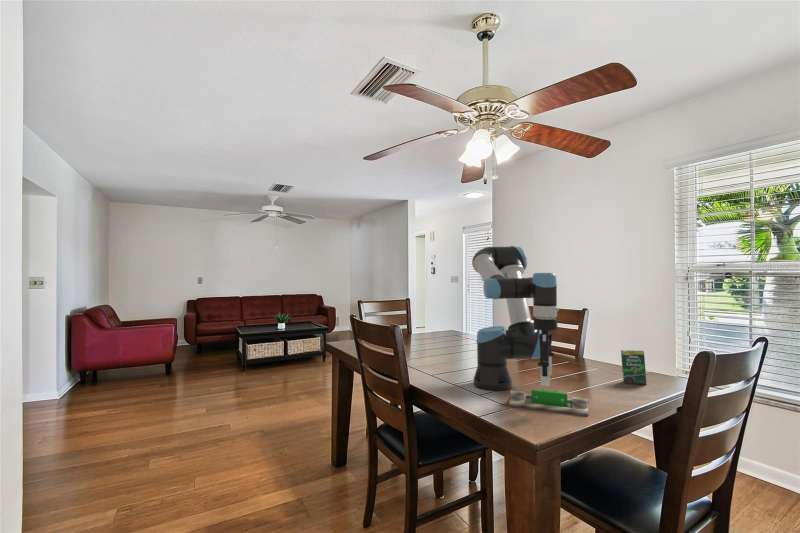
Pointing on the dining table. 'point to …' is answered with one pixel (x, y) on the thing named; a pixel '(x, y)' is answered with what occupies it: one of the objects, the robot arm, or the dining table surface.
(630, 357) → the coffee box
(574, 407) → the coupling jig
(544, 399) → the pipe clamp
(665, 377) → the dining table surface
